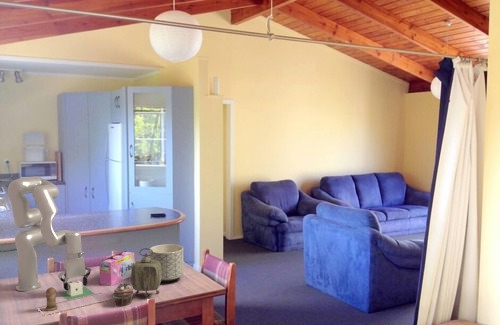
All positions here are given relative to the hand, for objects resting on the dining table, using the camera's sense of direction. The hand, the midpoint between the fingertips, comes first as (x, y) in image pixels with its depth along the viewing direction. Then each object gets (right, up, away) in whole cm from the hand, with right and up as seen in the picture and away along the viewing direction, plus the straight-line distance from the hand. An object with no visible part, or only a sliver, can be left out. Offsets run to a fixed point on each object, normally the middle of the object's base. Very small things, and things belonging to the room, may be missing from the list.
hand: (75, 287), depth 246 cm
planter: (+43, -2, +24) cm, 50 cm away
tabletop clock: (+37, -4, -2) cm, 38 cm away
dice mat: (0, -4, +1) cm, 4 cm away
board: (+4, -5, -13) cm, 15 cm away
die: (-1, -3, 0) cm, 3 cm away
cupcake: (+28, -5, -12) cm, 31 cm away
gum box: (+15, -2, +24) cm, 29 cm away
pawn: (-4, -5, -20) cm, 21 cm away
